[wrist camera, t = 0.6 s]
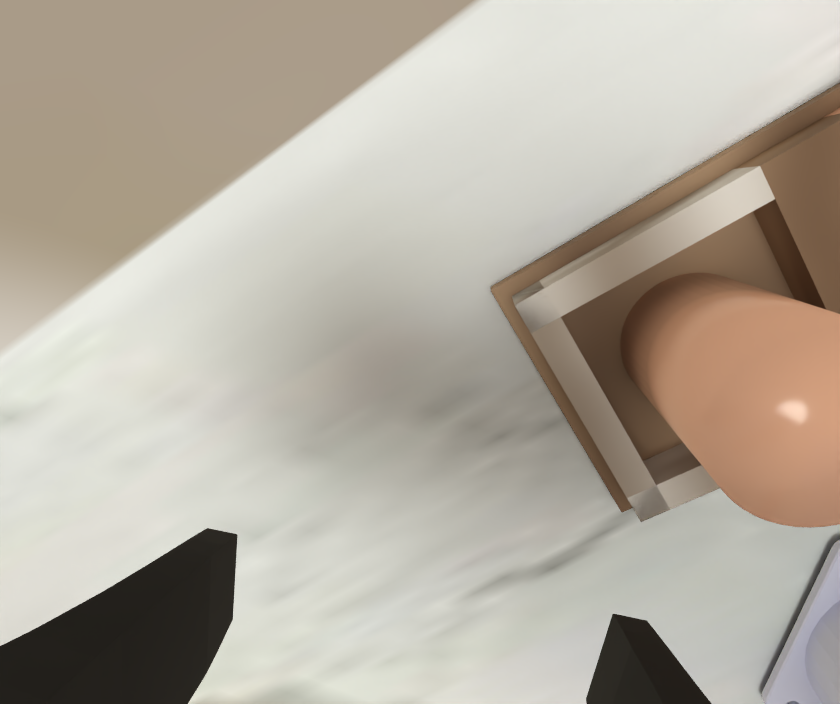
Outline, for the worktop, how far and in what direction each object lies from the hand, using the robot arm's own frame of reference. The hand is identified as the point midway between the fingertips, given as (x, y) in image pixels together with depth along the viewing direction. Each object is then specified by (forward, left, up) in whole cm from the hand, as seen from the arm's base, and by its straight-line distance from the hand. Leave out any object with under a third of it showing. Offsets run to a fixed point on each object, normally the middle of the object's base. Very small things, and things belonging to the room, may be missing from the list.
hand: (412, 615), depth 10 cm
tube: (-7, -5, -9) cm, 13 cm away
